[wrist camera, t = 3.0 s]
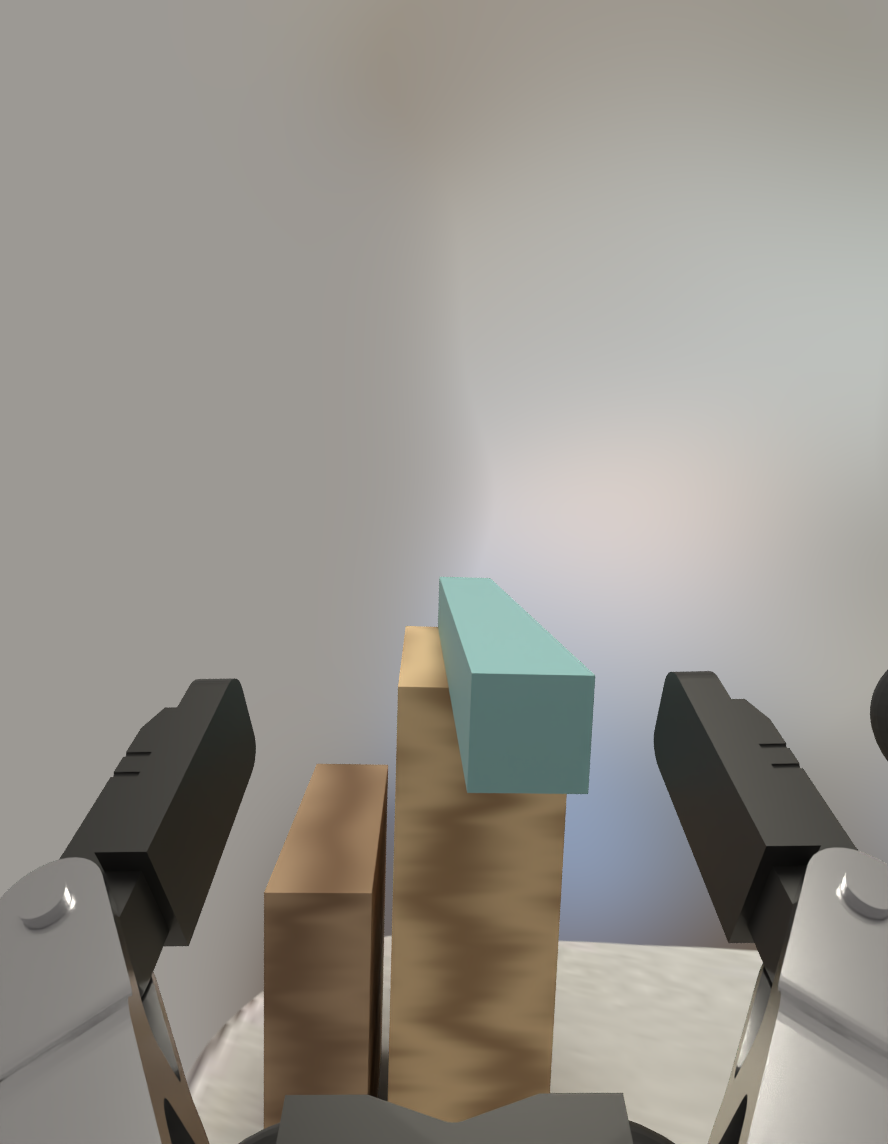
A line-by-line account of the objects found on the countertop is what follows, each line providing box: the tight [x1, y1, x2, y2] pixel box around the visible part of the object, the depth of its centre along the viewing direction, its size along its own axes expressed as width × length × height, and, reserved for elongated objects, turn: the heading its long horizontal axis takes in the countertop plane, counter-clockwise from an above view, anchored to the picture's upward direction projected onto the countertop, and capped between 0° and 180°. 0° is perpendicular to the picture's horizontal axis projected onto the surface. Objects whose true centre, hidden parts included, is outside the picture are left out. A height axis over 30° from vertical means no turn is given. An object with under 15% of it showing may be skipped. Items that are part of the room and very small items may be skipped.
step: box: [264, 764, 388, 1129], centre depth 36 cm, size 5×14×22 cm, turn 2°
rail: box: [438, 577, 595, 794], centre depth 29 cm, size 4×24×4 cm, turn 3°
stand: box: [388, 626, 567, 1122], centre depth 35 cm, size 8×14×32 cm, turn 2°
